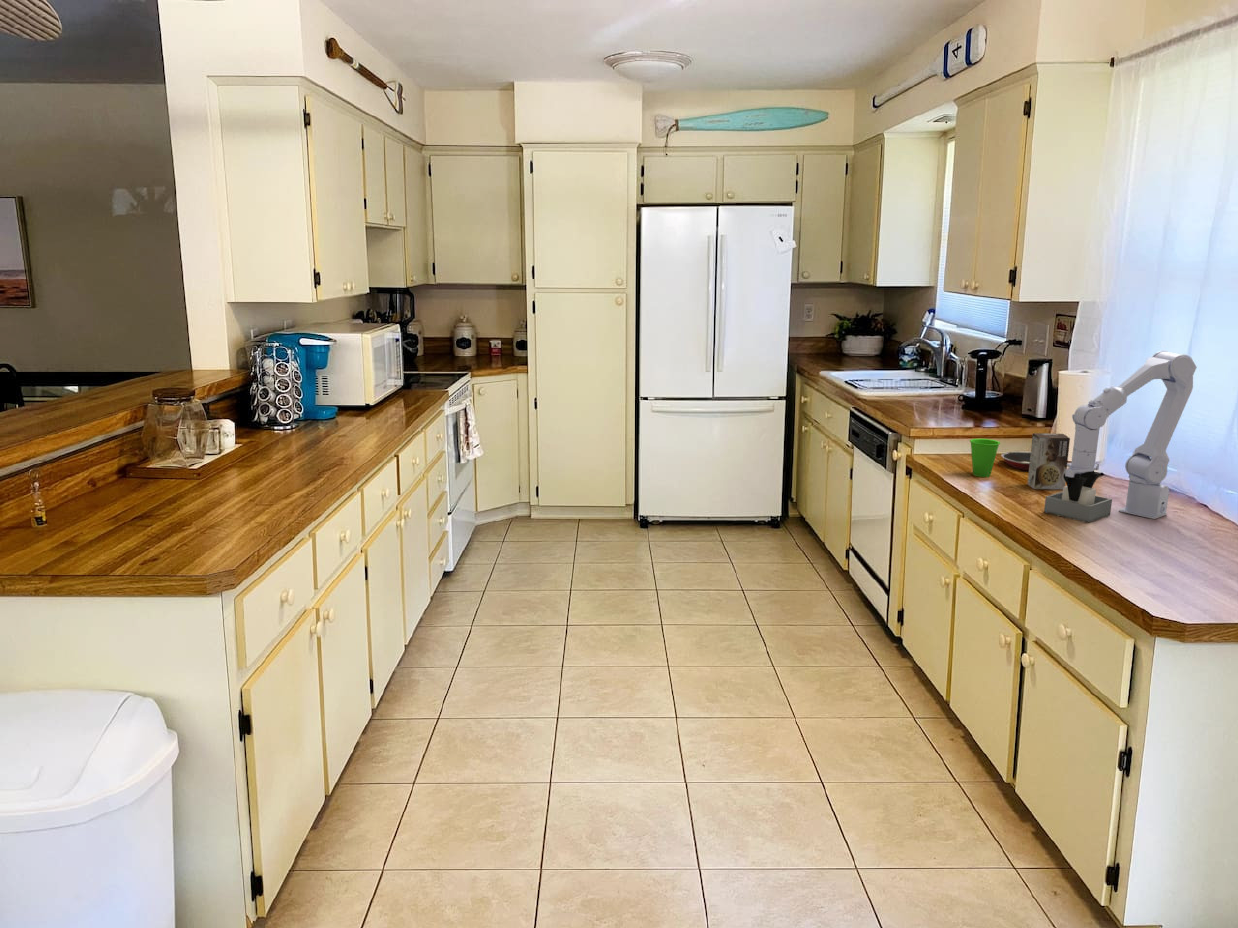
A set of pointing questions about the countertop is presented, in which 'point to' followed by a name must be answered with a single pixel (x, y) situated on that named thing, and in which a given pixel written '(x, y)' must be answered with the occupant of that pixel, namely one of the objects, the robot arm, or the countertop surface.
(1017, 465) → the frying pan
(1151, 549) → the countertop surface
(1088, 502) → the white crate
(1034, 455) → the coffee box
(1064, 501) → the grey shallow square box
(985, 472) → the cup
